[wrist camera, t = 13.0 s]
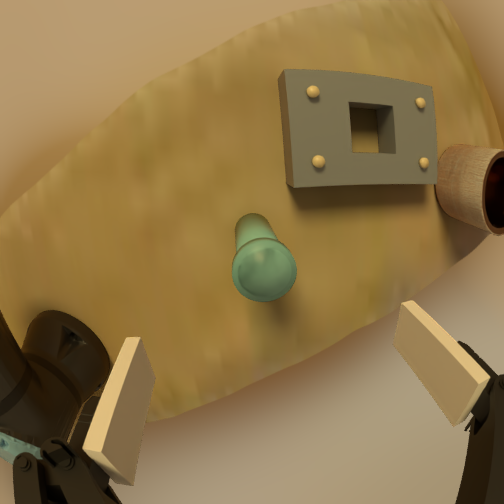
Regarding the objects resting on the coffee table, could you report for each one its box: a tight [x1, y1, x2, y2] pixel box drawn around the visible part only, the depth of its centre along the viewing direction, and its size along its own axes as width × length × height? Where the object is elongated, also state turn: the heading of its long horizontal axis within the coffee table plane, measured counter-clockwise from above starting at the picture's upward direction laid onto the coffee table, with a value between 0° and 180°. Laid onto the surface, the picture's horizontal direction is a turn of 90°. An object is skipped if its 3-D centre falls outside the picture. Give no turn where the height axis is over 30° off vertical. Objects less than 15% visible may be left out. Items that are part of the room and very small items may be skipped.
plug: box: [232, 213, 297, 302], centre depth 27 cm, size 5×5×12 cm
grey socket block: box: [278, 69, 437, 188], centre depth 27 cm, size 18×12×5 cm, turn 95°
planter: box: [435, 144, 504, 236], centre depth 27 cm, size 11×11×10 cm
